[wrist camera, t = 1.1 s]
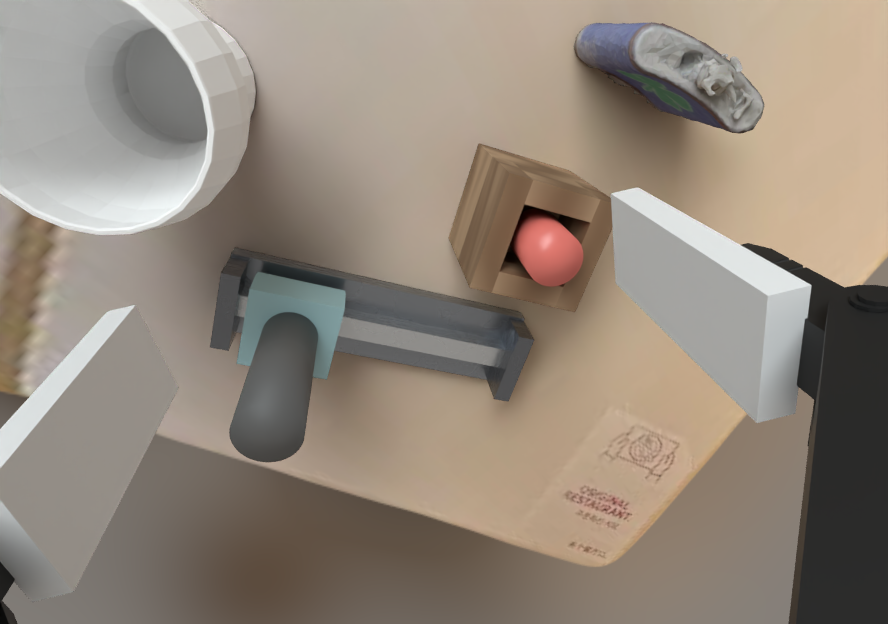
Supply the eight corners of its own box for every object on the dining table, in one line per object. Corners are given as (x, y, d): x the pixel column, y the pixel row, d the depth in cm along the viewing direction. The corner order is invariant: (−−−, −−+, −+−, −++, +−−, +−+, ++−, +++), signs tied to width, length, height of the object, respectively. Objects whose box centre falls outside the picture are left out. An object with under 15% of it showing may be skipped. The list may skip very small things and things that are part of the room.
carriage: (246, 338, 40) (197, 468, 28) (258, 268, 38) (211, 377, 26) (329, 354, 41) (316, 483, 30) (346, 287, 39) (339, 398, 27)
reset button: (500, 251, 35) (518, 279, 31) (518, 202, 34) (539, 225, 30) (546, 262, 36) (570, 291, 32) (565, 215, 34) (592, 240, 30)
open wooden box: (445, 246, 41) (466, 298, 33) (478, 143, 38) (509, 173, 30) (531, 267, 43) (570, 321, 35) (569, 170, 40) (622, 205, 32)
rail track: (223, 321, 41) (209, 349, 38) (234, 247, 39) (221, 270, 35) (495, 374, 47) (507, 403, 43) (520, 312, 44) (535, 337, 41)
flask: (565, 52, 36) (638, 60, 27) (590, 7, 35) (676, -2, 26) (670, 120, 39) (769, 149, 30) (696, 81, 38) (807, 97, 29)
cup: (107, 160, 36) (-45, 238, 22) (83, -32, 31) (-127, -80, 18) (279, 178, 37) (234, 258, 24) (280, -2, 33) (225, -24, 20)
